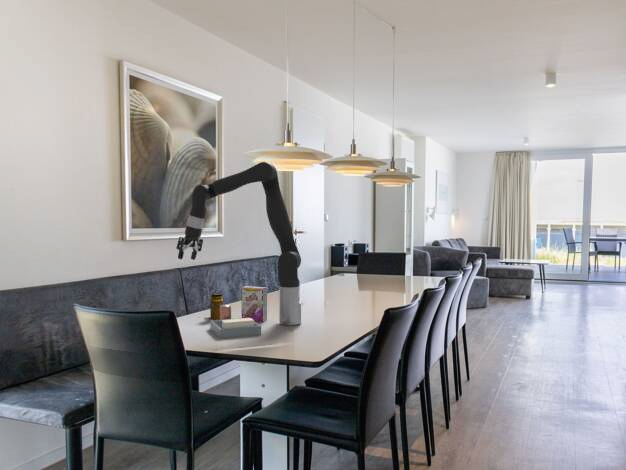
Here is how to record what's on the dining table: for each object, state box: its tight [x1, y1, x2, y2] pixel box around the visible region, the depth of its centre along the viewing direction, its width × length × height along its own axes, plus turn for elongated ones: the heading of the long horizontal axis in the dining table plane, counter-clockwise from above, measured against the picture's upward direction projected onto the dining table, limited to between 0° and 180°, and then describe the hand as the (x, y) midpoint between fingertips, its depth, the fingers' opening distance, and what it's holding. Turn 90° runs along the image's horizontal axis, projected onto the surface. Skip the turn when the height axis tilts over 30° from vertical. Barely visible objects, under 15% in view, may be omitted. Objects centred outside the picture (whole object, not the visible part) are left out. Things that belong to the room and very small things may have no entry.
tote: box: [209, 317, 262, 340], centre depth 213 cm, size 17×18×4 cm
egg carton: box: [222, 318, 254, 329], centre depth 209 cm, size 12×5×6 cm, turn 113°
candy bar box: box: [241, 285, 268, 323], centre depth 236 cm, size 11×5×16 cm, turn 70°
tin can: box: [220, 304, 232, 320], centre depth 229 cm, size 5×5×9 cm
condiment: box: [204, 292, 224, 321], centre depth 244 cm, size 7×8×12 cm
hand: (186, 259), depth 241 cm, fingers open, 8 cm apart
